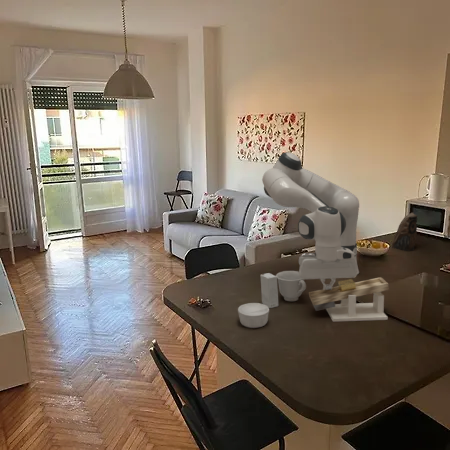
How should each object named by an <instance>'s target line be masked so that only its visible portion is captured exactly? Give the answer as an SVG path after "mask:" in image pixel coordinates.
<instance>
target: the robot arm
mask: <svg viewBox="0 0 450 450" xmlns="http://www.w3.org/2000/svg"><path fill="white" fill-rule="evenodd" d="M261 180H262V184H263V192H264V193H265V195H266V196H268V198H271V200H273V202H275V203H276V204H278V205H279V206H280V207H285V208H299V209H300V208H301V209H304V210H305V209H306V210H308V211H310V213H306V214H303V215H302V216H301V217H300V218H299V220H298V223H297V231H298V233H299V235H300V236H301V237H302V238H303V239H304V240H309V241H310V240H314V241H315V244H314V245H315V246H314V248H315V249H314V250H315V251H314V252H313V253H312V252H311V253H302V254H300V255H299V257H298V264H299V270H298V272H299V275H300V277H301V278H302V279H304V280H320V282H321V284H322V287H323V288H322V289H324V290H332V287H334V284H335V283H336V279H352V278H356V277H357V276H358V275H359V273H360V270H359V267H358V260H357V254H358V244H357V228H358V227H357V225H358V219H359V213H360V212H359V210H360V200H359V198H358V197H357V195H355V194H354V193H352V192H350V191H349V190H347V189H345V188H344V187H342V186H339V185H338V184H335V183H333V182H331V181H330V180H328V179H326V178H323V176H320V175H318V174H316V173H314V172H312V171H310V170H308V169H306V168H304V167H303V164H302V160H301V159H300V158H299V157H298V156H297V155H296V154H295V153H292V152H289V151H288V152H287V151H286V152H285V151H284V152H283V153H281V154H280V155H279V156H278V158H277V161H276V162H275V163H274V165H273V167H272V168H269V169H267V170H266V171H265V172H264V174H263V176H262V179H261ZM326 279H330V282H329V283H325V282H326Z"/></svg>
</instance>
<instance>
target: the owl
mask: <svg viewBox="0 0 450 450" xmlns="http://www.w3.org/2000/svg"><path fill="white" fill-rule="evenodd" d="M417 222H418V215H417V214H415V213H414V212H410V213H408V214H407V215H406V216H404V217H403V218H402V220H401V221H400V223H399V225H398V227H397V231H396V232H395V233H394V234H395V235H394V238H393V242H392V243H391V248H393V249H397V250H400V251H404V252H413V251H415V245H416V239H417V238H418V236H417V235H418V234H417V232H418V231H417V230H418V225H417Z"/></svg>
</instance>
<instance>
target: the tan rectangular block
mask: <svg viewBox="0 0 450 450" xmlns="http://www.w3.org/2000/svg"><path fill="white" fill-rule="evenodd" d="M337 284H338V285H337V286H339V290H340V292H344V291H349V290H354V289H356V286H355V281H354V280H353V279H352V278H347V279H344V280H339V281H337Z"/></svg>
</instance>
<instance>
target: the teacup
mask: <svg viewBox="0 0 450 450" xmlns="http://www.w3.org/2000/svg"><path fill="white" fill-rule="evenodd" d="M275 276H276V277H277V284H278V291H279V293H280V294H281V296H282V297H283V299H284V301H285V302H286V301H287V302H296V301H298V300H299V297H301V295H302V294H303V292H304V291H305V290H306V288H307V284H306V282H305V279H302V278H301V277H300V275H299V270H283V271H279V272H278V273H276V274H275Z"/></svg>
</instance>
